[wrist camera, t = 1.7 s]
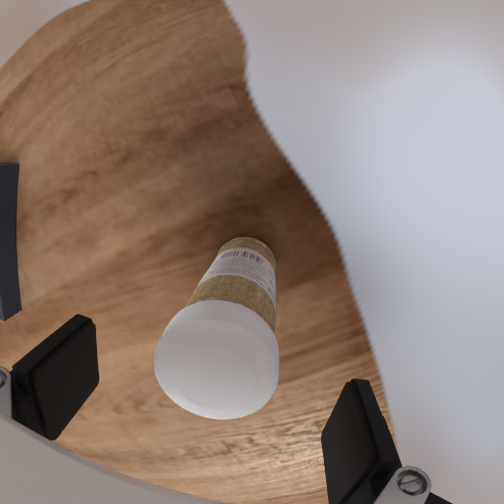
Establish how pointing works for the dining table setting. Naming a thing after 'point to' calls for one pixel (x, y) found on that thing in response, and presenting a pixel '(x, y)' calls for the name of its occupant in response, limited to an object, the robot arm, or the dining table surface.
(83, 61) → the dining table surface
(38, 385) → the robot arm
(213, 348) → the sprinkles bottle
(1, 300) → the tray
